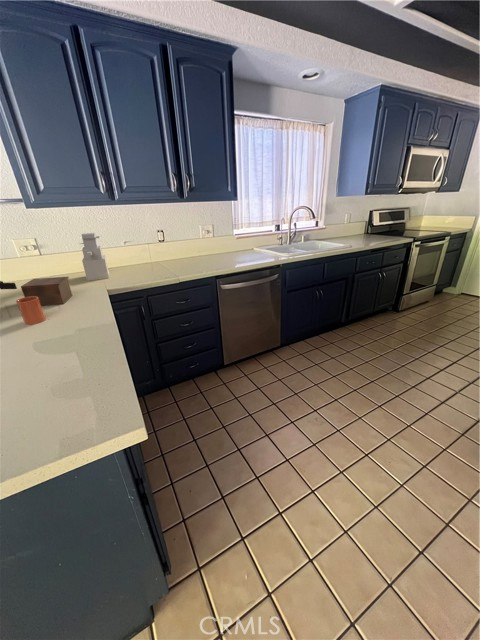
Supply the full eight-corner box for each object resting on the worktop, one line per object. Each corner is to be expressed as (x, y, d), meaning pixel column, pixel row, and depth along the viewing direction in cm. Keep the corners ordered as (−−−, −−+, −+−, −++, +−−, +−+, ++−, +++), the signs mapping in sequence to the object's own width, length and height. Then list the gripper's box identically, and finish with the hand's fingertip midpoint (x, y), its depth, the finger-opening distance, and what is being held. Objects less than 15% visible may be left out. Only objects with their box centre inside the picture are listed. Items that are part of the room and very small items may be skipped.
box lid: (69, 277, 141) (68, 276, 140) (59, 285, 129) (59, 283, 128) (34, 280, 137) (33, 278, 137) (21, 288, 125) (20, 286, 125)
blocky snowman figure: (109, 271, 191) (100, 231, 180) (108, 280, 172) (98, 235, 160) (89, 273, 187) (78, 232, 175) (86, 282, 167) (74, 236, 155)
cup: (23, 326, 110) (14, 303, 106) (26, 319, 116) (18, 298, 112) (44, 322, 113) (36, 300, 109) (46, 316, 119) (39, 295, 115)
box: (72, 295, 145) (67, 278, 140) (63, 304, 133) (57, 285, 128) (40, 298, 141) (34, 280, 137) (28, 307, 129) (21, 288, 125)
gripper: (-19, 290, 121) (27, 290, 121) (-78, 312, 99) (-20, 311, 99) (-26, 274, 118) (21, 274, 118) (-88, 292, 96) (-29, 292, 96)
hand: (2, 290), depth 109 cm, fingers open, 13 cm apart
